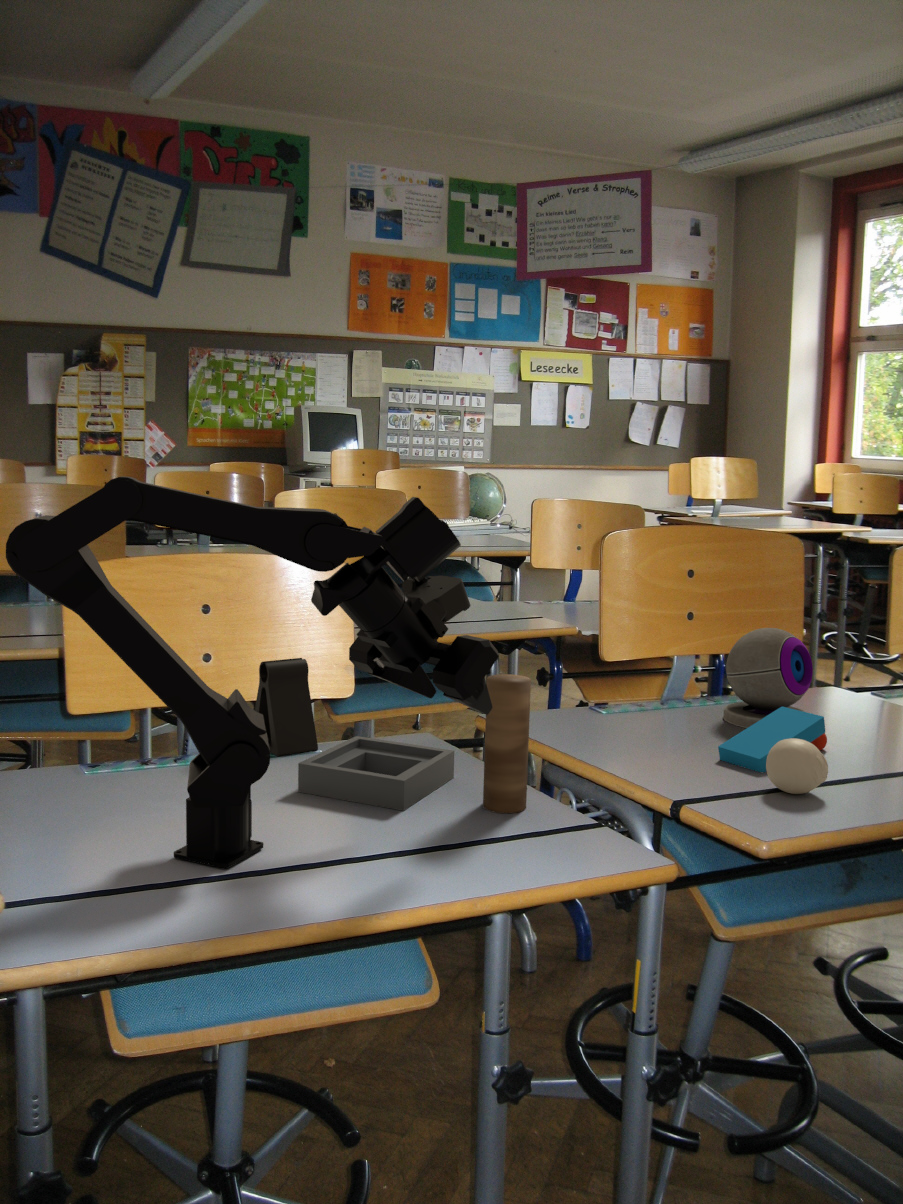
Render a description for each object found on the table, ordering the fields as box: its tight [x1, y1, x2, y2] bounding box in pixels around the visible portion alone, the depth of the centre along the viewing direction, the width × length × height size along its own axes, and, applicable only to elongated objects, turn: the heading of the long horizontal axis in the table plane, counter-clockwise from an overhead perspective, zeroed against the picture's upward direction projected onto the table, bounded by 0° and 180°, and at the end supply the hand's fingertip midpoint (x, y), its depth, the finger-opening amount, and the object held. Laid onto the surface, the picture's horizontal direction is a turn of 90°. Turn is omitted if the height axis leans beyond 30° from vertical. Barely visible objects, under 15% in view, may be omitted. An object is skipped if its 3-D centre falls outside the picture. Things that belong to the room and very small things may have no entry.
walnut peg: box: [482, 673, 532, 814], centre depth 117 cm, size 5×5×15 cm
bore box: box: [297, 735, 455, 812], centre depth 124 cm, size 14×14×4 cm
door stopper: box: [254, 657, 319, 757], centre depth 139 cm, size 9×6×12 cm, turn 35°
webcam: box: [723, 627, 814, 729], centre depth 161 cm, size 13×13×15 cm
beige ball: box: [766, 738, 829, 795], centre depth 125 cm, size 7×7×7 cm
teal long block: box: [717, 707, 828, 773], centre depth 141 cm, size 7×7×18 cm
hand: (460, 702), depth 111 cm, fingers open, 9 cm apart
